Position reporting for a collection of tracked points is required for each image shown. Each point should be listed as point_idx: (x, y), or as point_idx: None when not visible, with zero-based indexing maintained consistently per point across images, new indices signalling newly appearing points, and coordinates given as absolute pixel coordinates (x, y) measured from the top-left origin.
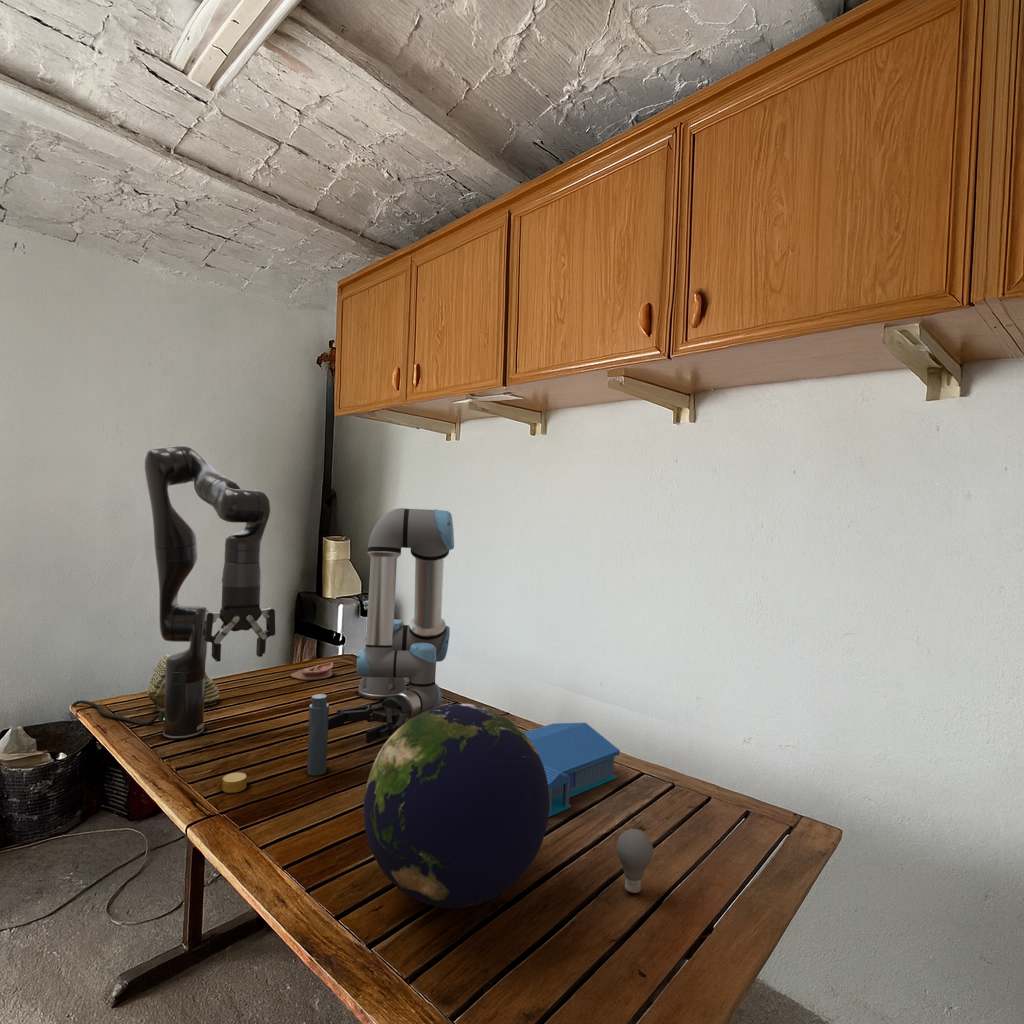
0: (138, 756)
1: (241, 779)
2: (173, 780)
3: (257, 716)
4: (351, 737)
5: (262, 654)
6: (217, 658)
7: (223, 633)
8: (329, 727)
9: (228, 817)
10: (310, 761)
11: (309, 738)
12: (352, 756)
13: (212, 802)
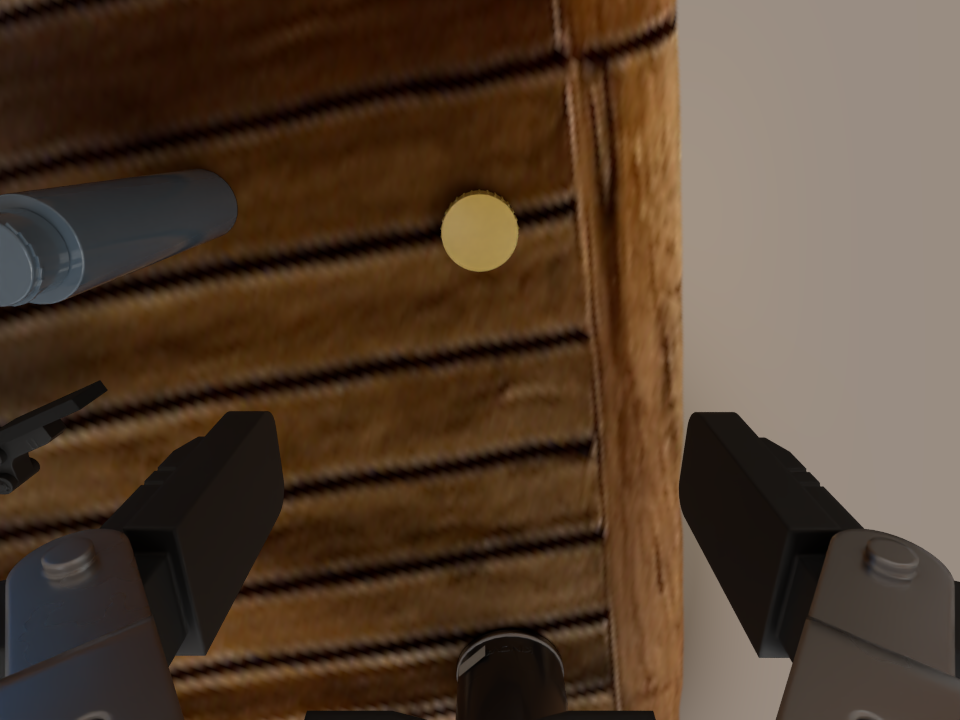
0: (651, 576)
1: (464, 201)
2: (618, 378)
3: (294, 693)
4: None
5: (225, 416)
6: (739, 422)
7: (895, 657)
8: (77, 392)
9: (554, 8)
10: (209, 194)
11: (171, 216)
12: None
13: (565, 157)
